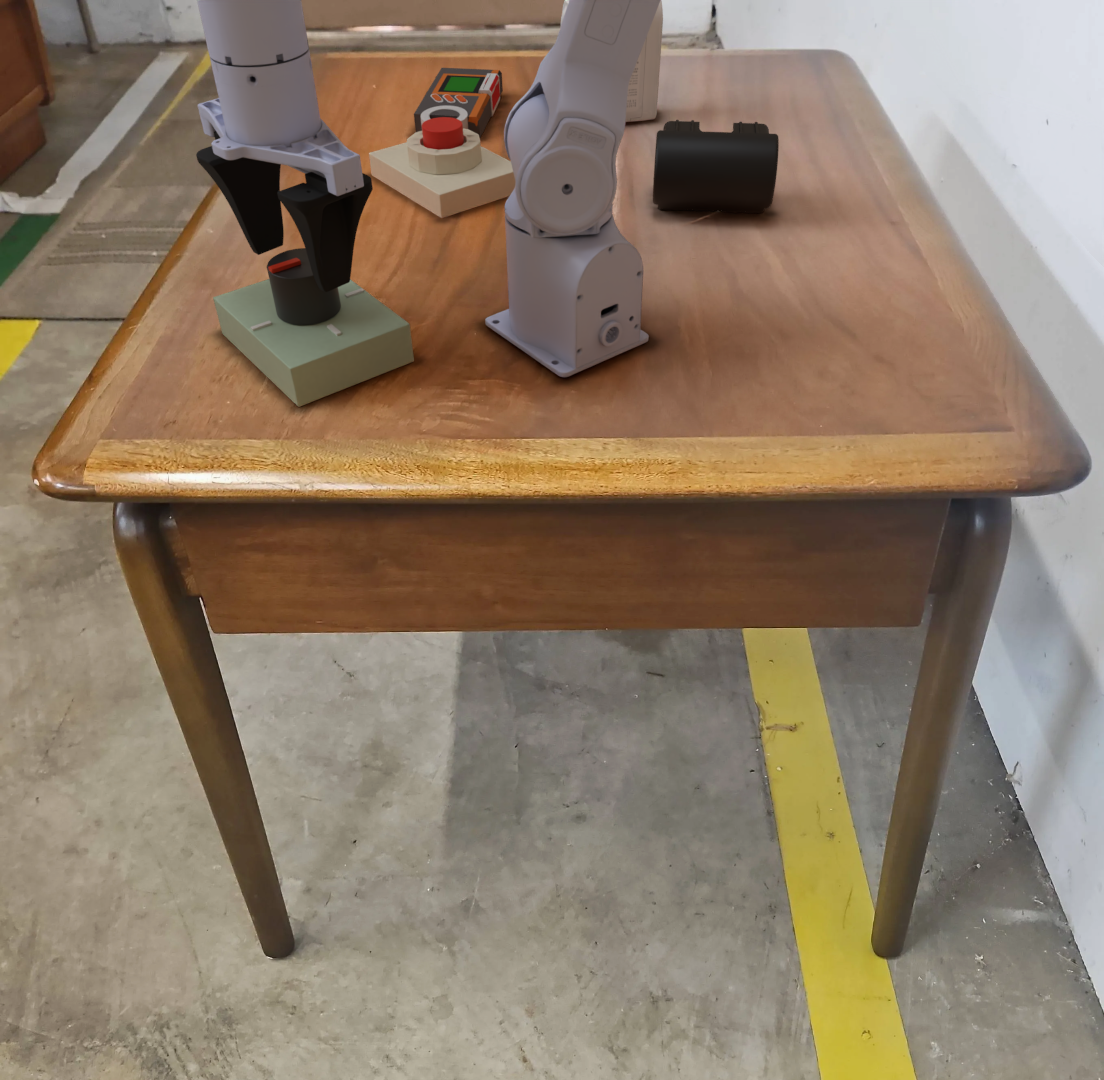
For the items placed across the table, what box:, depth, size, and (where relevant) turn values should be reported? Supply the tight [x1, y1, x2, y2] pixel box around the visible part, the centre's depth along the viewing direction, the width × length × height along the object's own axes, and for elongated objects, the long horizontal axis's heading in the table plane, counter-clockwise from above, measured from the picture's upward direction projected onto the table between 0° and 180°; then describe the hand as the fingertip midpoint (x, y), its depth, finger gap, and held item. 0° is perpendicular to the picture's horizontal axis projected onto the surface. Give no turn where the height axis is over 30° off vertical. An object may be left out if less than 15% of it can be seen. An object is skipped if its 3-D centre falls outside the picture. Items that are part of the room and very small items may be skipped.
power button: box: [422, 117, 464, 150], centre depth 91 cm, size 4×4×2 cm
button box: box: [368, 129, 516, 219], centre depth 92 cm, size 12×9×4 cm
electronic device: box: [413, 67, 504, 139], centre depth 105 cm, size 7×3×15 cm
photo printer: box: [560, 0, 664, 123], centre depth 101 cm, size 10×4×12 cm, turn 103°
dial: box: [266, 247, 341, 325], centre depth 69 cm, size 4×4×4 cm
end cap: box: [652, 119, 780, 214], centre depth 87 cm, size 10×7×7 cm
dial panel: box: [212, 278, 415, 407], centre depth 72 cm, size 12×9×3 cm
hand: (300, 266), depth 69 cm, fingers open, 7 cm apart
